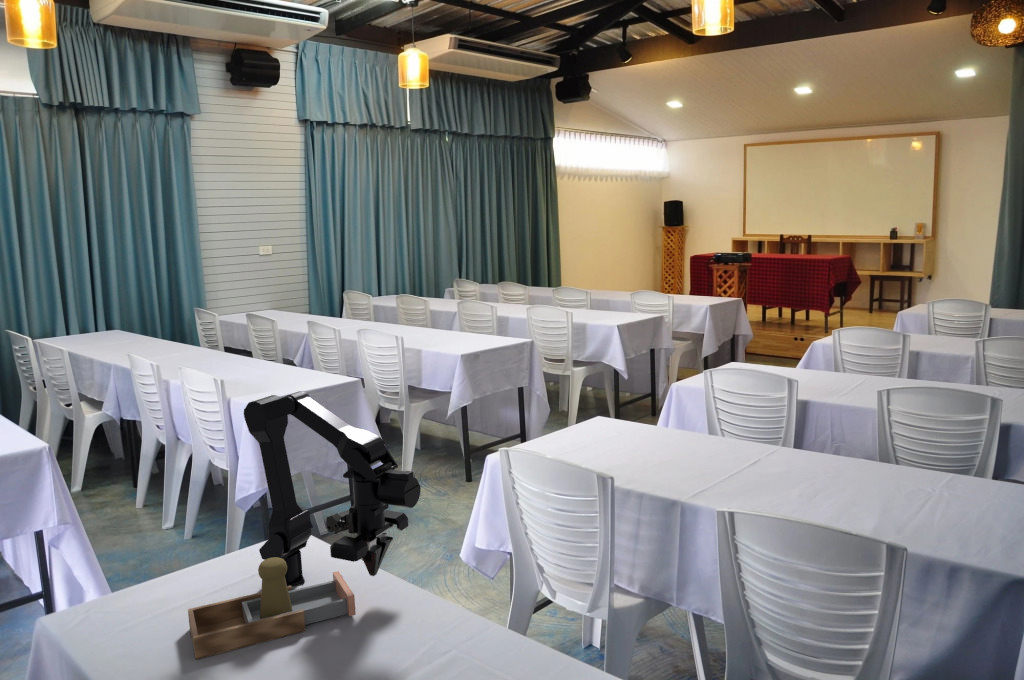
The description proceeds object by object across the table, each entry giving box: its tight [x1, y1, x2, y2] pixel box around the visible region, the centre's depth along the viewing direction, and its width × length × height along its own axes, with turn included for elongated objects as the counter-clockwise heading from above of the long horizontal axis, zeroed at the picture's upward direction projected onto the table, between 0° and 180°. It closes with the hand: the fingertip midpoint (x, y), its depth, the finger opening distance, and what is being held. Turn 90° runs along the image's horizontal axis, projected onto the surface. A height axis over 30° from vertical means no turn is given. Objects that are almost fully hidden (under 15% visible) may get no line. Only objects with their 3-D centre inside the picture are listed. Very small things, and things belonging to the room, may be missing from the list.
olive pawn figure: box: [257, 557, 293, 619], centre depth 147 cm, size 6×6×11 cm
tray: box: [242, 570, 357, 625], centre depth 150 cm, size 19×12×4 cm, turn 117°
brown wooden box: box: [187, 585, 306, 661], centre depth 146 cm, size 19×12×4 cm, turn 117°
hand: (373, 575), depth 156 cm, fingers closed
